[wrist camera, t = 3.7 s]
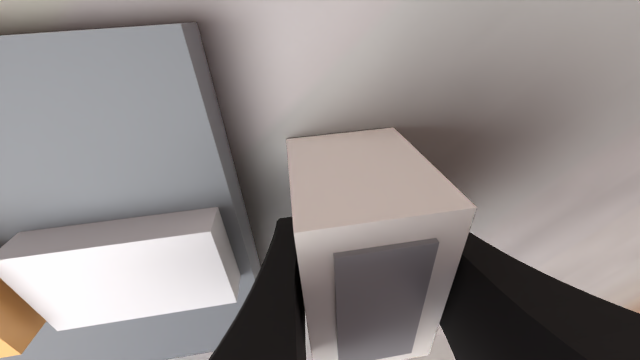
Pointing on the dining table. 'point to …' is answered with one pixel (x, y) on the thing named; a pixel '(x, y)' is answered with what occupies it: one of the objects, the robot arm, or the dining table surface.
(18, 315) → the block
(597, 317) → the robot arm
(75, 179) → the rail board
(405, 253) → the block
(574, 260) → the dining table surface
